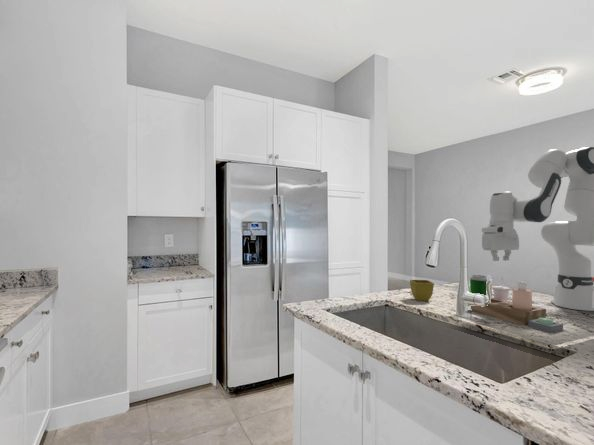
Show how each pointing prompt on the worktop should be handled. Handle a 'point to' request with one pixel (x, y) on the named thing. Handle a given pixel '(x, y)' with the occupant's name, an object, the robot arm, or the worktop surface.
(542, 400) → the worktop surface
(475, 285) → the soda can
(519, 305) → the bottle
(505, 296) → the smoothie
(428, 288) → the flower pot
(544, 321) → the button
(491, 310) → the pallet
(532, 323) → the button housing
